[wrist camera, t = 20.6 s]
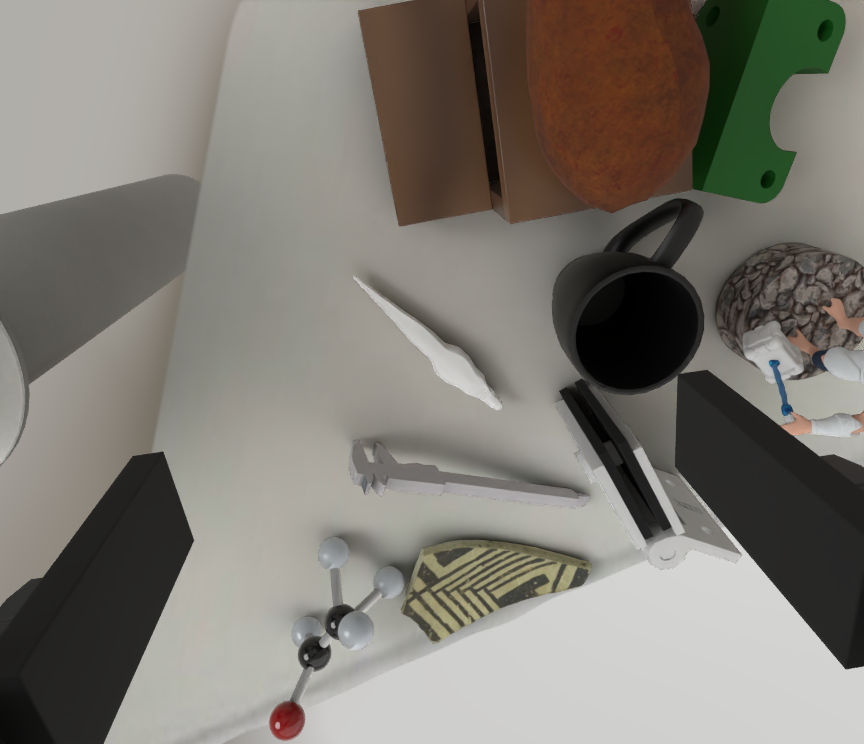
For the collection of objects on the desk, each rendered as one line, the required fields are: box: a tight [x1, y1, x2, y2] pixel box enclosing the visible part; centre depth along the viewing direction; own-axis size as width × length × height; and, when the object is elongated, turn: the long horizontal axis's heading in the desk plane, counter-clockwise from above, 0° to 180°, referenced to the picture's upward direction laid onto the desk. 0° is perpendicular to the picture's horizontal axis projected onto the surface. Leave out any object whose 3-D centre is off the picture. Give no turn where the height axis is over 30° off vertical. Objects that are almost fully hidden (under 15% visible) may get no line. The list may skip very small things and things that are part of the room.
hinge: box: [555, 379, 742, 570], centre depth 45 cm, size 14×5×10 cm, turn 43°
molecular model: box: [269, 537, 404, 741], centre depth 49 cm, size 8×12×11 cm
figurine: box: [716, 243, 864, 437], centre depth 38 cm, size 15×9×18 cm, turn 137°
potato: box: [526, 0, 710, 213], centre depth 27 cm, size 8×12×8 cm, turn 17°
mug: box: [552, 198, 704, 395], centre depth 40 cm, size 8×12×10 cm
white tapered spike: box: [353, 276, 502, 411], centre depth 45 cm, size 15×3×2 cm, turn 46°
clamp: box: [692, 0, 846, 203], centre depth 38 cm, size 12×6×9 cm, turn 163°
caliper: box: [349, 440, 589, 509], centre depth 47 cm, size 20×1×6 cm, turn 73°
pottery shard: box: [401, 540, 592, 644], centre depth 54 cm, size 11×16×2 cm, turn 83°
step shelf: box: [358, 0, 692, 226], centre depth 35 cm, size 16×12×10 cm
